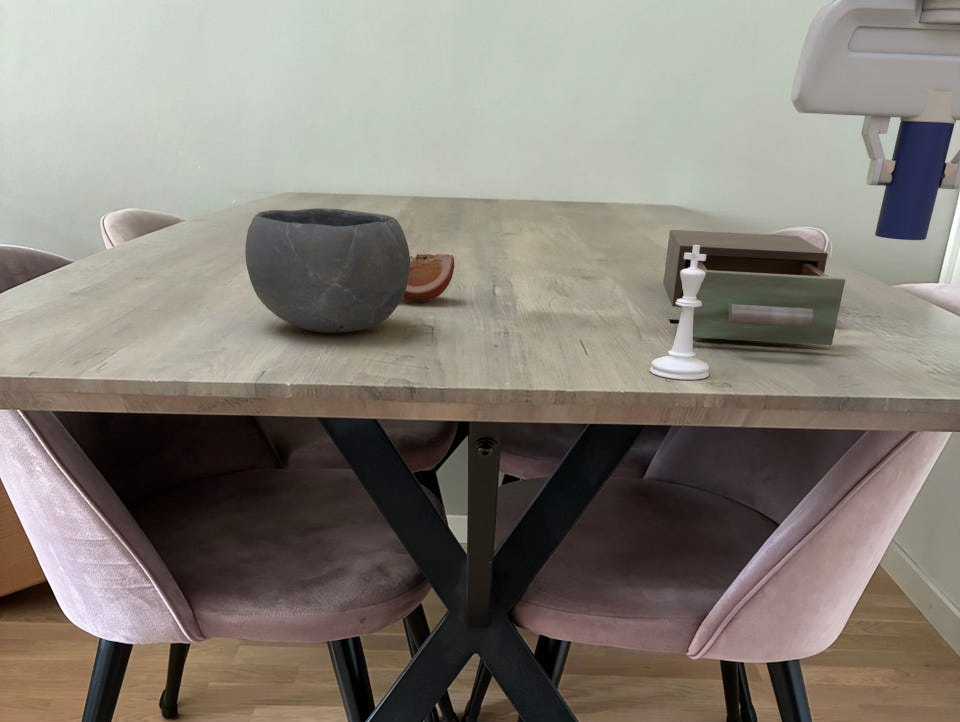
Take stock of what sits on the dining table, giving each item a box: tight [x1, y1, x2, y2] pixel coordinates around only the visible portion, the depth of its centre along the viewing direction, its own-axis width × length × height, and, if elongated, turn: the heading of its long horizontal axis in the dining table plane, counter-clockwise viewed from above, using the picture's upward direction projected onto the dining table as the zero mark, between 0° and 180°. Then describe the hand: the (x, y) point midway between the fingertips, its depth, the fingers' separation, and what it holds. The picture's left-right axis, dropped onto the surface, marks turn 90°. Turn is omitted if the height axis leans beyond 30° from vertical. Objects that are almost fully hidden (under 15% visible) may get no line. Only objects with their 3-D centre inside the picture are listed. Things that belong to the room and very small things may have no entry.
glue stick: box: [874, 91, 957, 241], centre depth 73 cm, size 4×4×10 cm
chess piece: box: [649, 245, 710, 381], centre depth 78 cm, size 5×5×10 cm
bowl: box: [244, 207, 411, 334], centre depth 88 cm, size 15×15×10 cm
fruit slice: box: [402, 253, 455, 303], centre depth 105 cm, size 8×7×5 cm
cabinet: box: [662, 229, 829, 325], centre depth 104 cm, size 16×15×8 cm
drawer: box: [682, 255, 846, 346], centre depth 92 cm, size 19×13×6 cm
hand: (911, 187), depth 74 cm, fingers closed on glue stick, 4 cm apart
